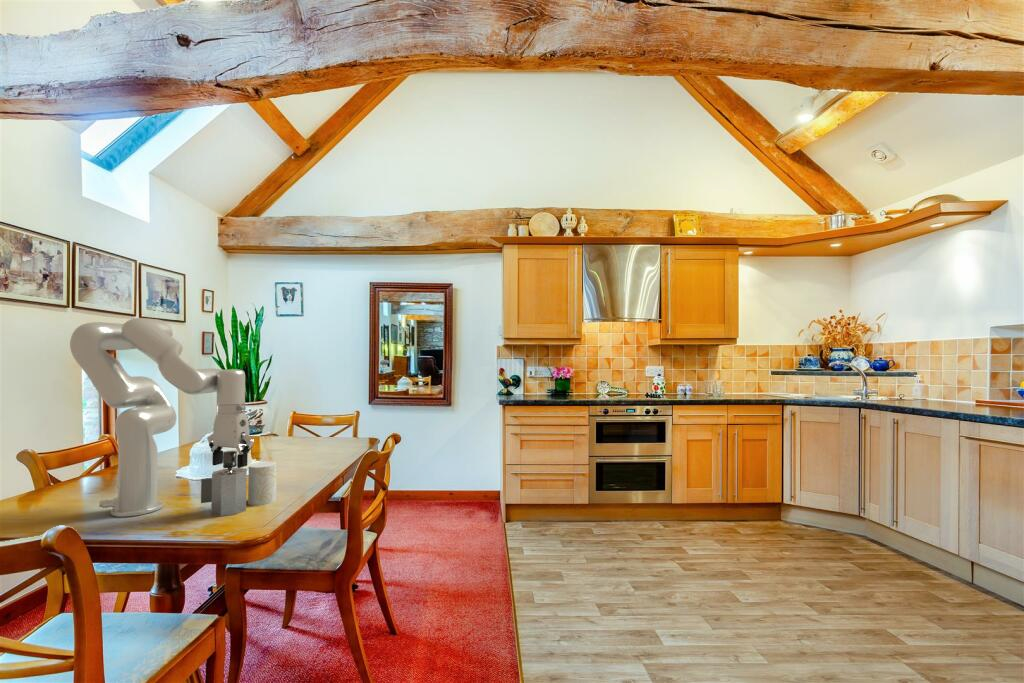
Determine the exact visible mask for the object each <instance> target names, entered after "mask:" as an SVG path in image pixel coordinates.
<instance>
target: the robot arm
mask: <svg viewBox="0 0 1024 683" xmlns="http://www.w3.org/2000/svg"><path fill="white" fill-rule="evenodd" d="M69 347H70V348H69V349H70V352H71V355H72V357H73V359H74V360H75V362H76V363H77V364H78V365H79V367H80V369H82V370H83V371H84V373H85V375H86V376H87V377H88V378H89V380H90V381H91V383H92V385H93V387H94V388H95V390H96V392H98V394H99V396H100V397H101V399H102V400H103V401H104V402H105V404H106V405H107V406H108V407H110V408H111V409H112V408H113V409H124V408H128V409H125V410H123V411H122V412H120V413H119V414H118V416H117V417H116V419H115V422H114V430H115V435H116V438H117V439H116V440H117V448H118V454H117V457H118V458H117V459H118V462H117V463H118V467H117V470H118V471H117V497H114V498H113V499H104V500H103V499H102V500H100V501H99V503H98V504H99V508H101V509H107V508H112V509H111V510H110V515H111V516H113V517H118V518H121V517H123V518H125V517H134V516H140V515H146V514H149V513H153V512H156V511H158V510H160V509H161V508H162V507H163V505H164V504H163V501H161V500H158V499H157V498H158V495H157V494H158V458H159V457H158V446H157V443H156V440H155V439H154V436H155V435H159V434H163V433H165V432H168V431H170V430H172V429H173V428H174V427H175V425H176V423H177V413H176V410H175V409H174V407H173V404H171V402H170V400H169V399H168V398H167V396H166V395H165V393H164V392H163V390H162V388H161V387H160V385H159V384H158V383H157V382H156V381H155V380H153V379H152V378H150V377H147V376H131V375H129V374H128V372H127V371H126V370H125V368H124V367H123V365H122V364H121V362H120V361H119V360H118V359H117V358H115V357H114V356H113V355H111V354H110V353H109V352H108V351H126V350H127V351H129V350H138V351H140V352H141V353H143V354H144V355H145V356H147V357H148V358H149V359H150V360H152V361H153V362H155V363H156V364H157V368H158V370H159V372H160V374H161V376H162V377H163V378H164V380H166V381H167V383H169V384H171V385H172V386H173V387H175V388H176V389H177V390H179V391H181V392H182V393H185V394H187V395H191V396H193V395H195V396H196V395H204V394H211V393H216V414H215V416H214V423H213V430H212V433H211V434H210V435H209V436H207V437H206V438H207V442H208V446H209V448H210V451H211V453H212V460H211V461H212V466H218V465H223V452H224V450H222V449H223V448H227V449H228V448H232V449H235V450H236V451H237V466H236V468H244V467H247V466H248V459H249V458H248V454H249V453H250V450H251V449H253V445H254V442H255V440H254V438H253V437H251V436H250V427H249V426H250V424H249V419H248V415H247V413H246V409H247V408H246V405H245V404H246V374H245V370H242V369H236V368H235V369H231V368H230V369H219V368H194V367H192V366H191V365H190V364H188V363H187V362H185V360H183V359H182V358H181V357H180V356H181V354H182V352H183V345H182V343H181V342H179V341H178V340H177V339H175V338H174V337H173V329H172V327H171V325H170V324H169V323H167V322H166V321H164V320H162V319H156V318H147V317H135V318H131V319H129V320H126V322H124V323H115V322H114V323H113V322H103V321H102V322H101V321H100V322H99V321H98V322H96V321H95V322H94V321H93V322H88V323H87V322H86V323H84V324H83V323H82V325H81V324H80V325H79V326H77V328H75V329H74V331H73V333H72V334H71V337H70V341H69Z"/></svg>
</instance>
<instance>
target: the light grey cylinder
mask: <svg viewBox="0 0 1024 683" xmlns="http://www.w3.org/2000/svg"><path fill="white" fill-rule="evenodd" d="M277 468H278V466H277V462H276V461H260V462H254V463H251V464H248V477H247V480H248V484H247V489H248V490H247V492H248V493H247V503H248V504H247V505H250V506H264V505H265V506H267V505H270V504H273V503H275V502H276V501H277V477H278V476H277V472H278V471H277Z"/></svg>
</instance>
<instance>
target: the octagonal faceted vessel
mask: <svg viewBox="0 0 1024 683" xmlns="http://www.w3.org/2000/svg"><path fill="white" fill-rule="evenodd" d="M247 474H248V472H247V468H244V467H241V468H238V467H233V468H232V472H231V473H228V468H223V469H222V468H221V469H219V470H215V471H213V472H212V473H211V477H206V478H201V480H200V482H201V484H200V504H207V503H211V506H210V508H211V511H210V512H211V513H210V514H211V516H216V517H226V516H233V515H234V516H235V515H237V514H240V513H241V514H242V513H243V512H245V511H246V510H247V480H248V477H247Z"/></svg>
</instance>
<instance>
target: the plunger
mask: <svg viewBox="0 0 1024 683" xmlns="http://www.w3.org/2000/svg"><path fill="white" fill-rule="evenodd" d="M237 455H238V451H237V450H227V451H226V450H225V451H223V463H222V468H223V469H228V473H231V472H232V468H237Z"/></svg>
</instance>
